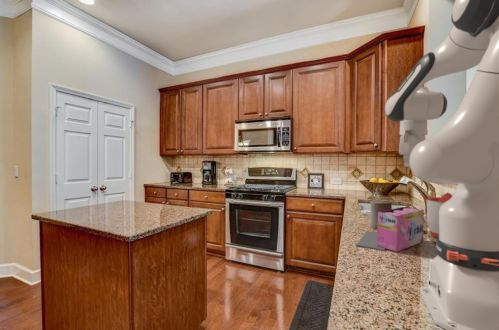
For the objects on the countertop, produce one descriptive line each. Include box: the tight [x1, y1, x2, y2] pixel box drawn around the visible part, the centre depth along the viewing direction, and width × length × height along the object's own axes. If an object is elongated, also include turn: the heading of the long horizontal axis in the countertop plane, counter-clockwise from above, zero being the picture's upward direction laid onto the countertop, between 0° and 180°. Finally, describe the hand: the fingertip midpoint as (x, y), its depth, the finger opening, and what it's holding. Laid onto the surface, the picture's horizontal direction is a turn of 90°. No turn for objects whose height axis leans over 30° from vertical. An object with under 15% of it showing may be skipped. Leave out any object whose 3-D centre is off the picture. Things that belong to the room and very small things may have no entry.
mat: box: [355, 230, 386, 252], centre depth 104 cm, size 24×10×1 cm, turn 144°
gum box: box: [376, 206, 425, 252], centre depth 98 cm, size 24×8×14 cm, turn 123°
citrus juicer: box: [425, 192, 453, 239], centre depth 107 cm, size 16×17×20 cm
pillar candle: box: [369, 199, 393, 230], centre depth 123 cm, size 10×10×15 cm
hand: (410, 165), depth 96 cm, fingers open, 8 cm apart
